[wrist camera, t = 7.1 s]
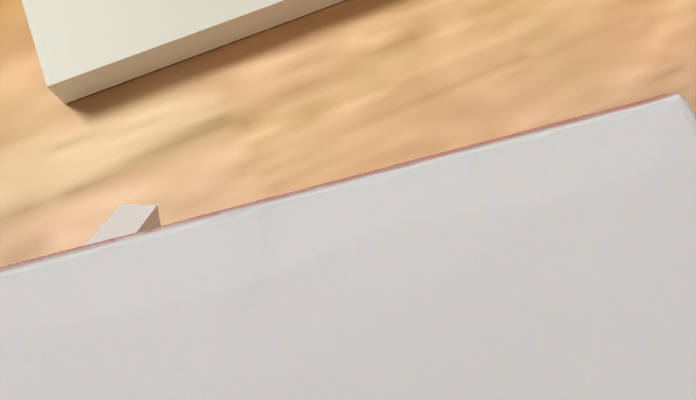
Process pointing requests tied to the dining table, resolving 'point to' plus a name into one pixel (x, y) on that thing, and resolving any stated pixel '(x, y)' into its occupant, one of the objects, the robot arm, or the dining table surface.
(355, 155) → the dining table surface
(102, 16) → the white square board
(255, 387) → the small box
